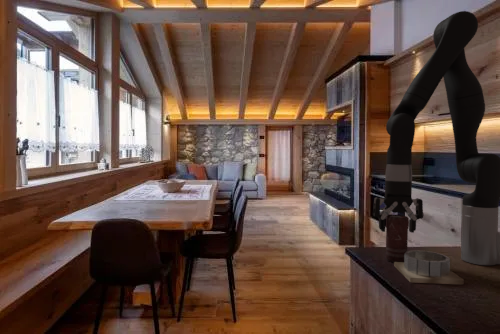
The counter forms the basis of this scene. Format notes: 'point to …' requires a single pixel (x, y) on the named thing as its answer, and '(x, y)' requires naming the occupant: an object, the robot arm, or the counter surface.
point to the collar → (427, 263)
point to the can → (396, 237)
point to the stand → (423, 279)
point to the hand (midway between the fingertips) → (397, 231)
